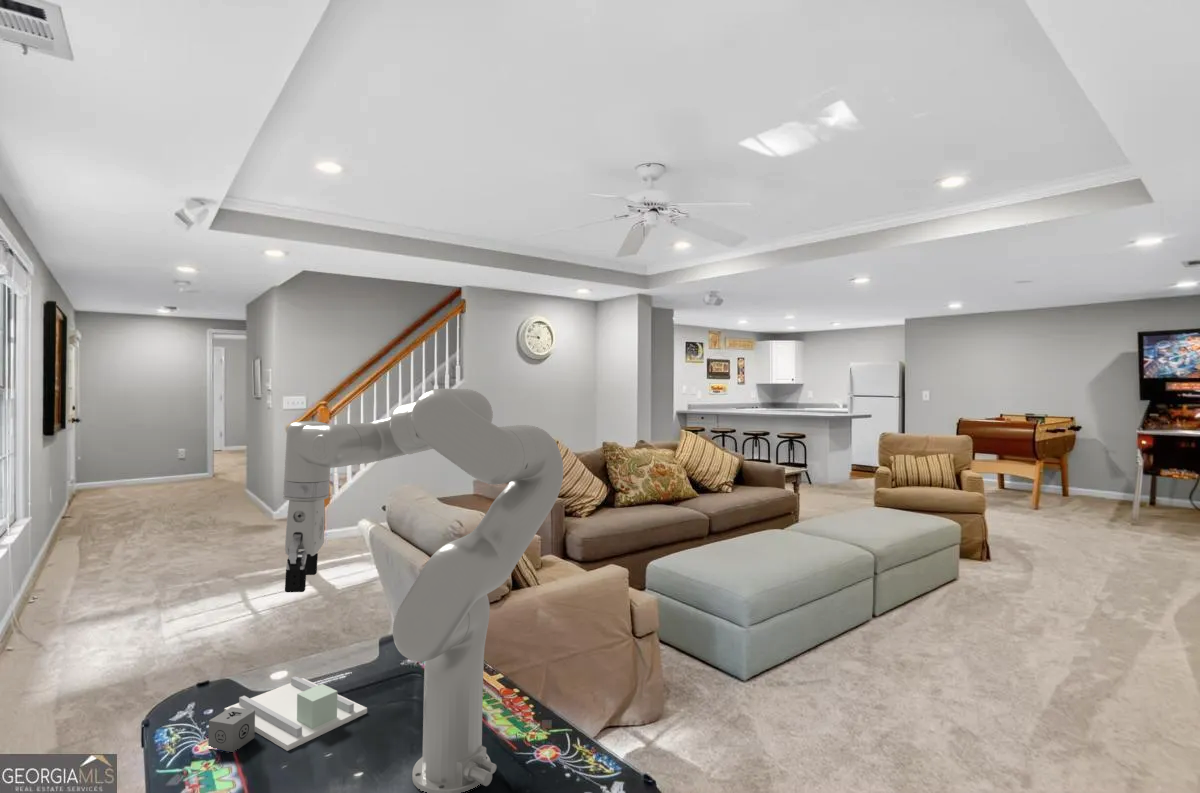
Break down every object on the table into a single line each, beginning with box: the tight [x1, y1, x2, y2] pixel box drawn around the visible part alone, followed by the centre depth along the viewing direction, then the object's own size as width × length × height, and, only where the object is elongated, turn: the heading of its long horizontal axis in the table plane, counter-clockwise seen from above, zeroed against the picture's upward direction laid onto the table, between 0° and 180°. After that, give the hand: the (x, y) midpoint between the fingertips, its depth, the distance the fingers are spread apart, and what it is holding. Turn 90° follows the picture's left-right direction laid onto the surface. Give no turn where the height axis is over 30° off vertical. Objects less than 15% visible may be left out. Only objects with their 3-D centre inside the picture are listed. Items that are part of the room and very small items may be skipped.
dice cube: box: [207, 707, 256, 753], centre depth 110 cm, size 5×5×5 cm
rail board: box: [223, 676, 368, 752], centre depth 121 cm, size 22×16×6 cm
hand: (301, 582), depth 114 cm, fingers open, 9 cm apart
